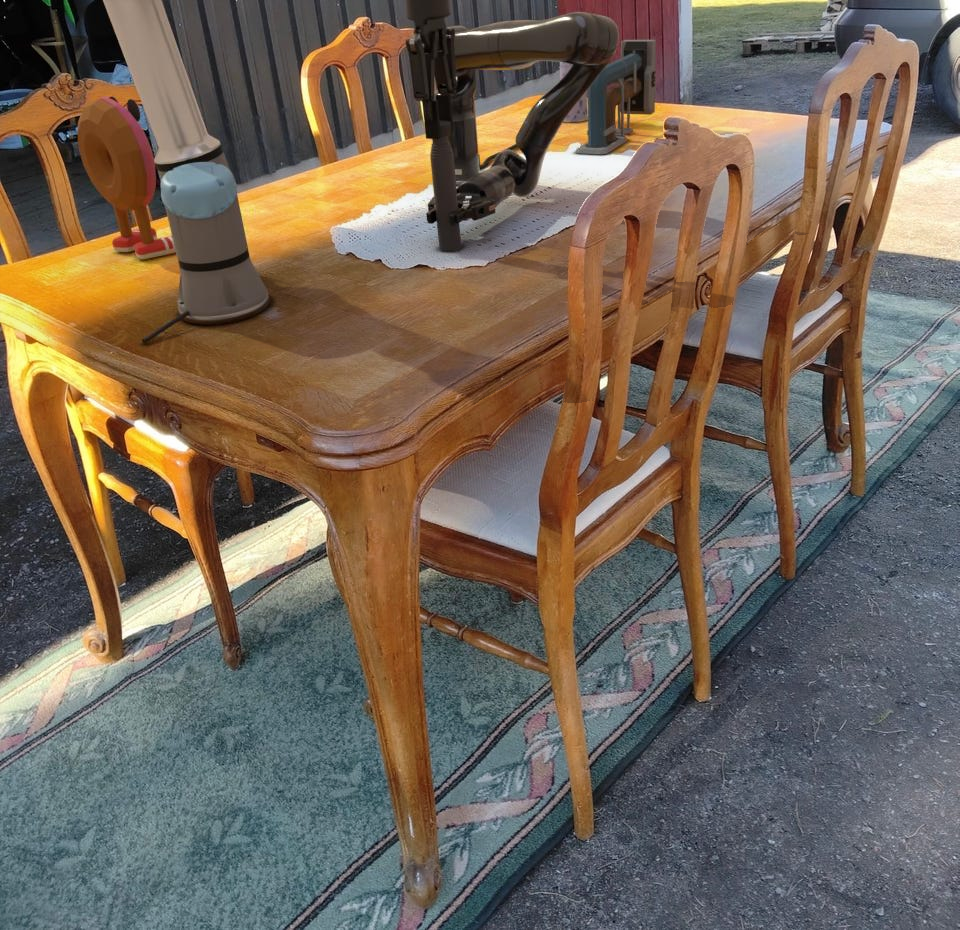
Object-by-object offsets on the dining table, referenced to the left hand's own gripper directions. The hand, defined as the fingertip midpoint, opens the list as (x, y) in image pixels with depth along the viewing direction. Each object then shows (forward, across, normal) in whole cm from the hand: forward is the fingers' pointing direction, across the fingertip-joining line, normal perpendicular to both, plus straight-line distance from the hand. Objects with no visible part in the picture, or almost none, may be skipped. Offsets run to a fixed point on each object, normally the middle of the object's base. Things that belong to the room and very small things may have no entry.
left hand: (439, 135), depth 175 cm
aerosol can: (+21, +112, +20) cm, 115 cm away
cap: (-2, 0, 0) cm, 2 cm away
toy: (+21, -17, +62) cm, 67 cm away
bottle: (+21, 0, 0) cm, 21 cm away
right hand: (+15, -3, 0) cm, 15 cm away
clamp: (+21, +91, 0) cm, 94 cm away
